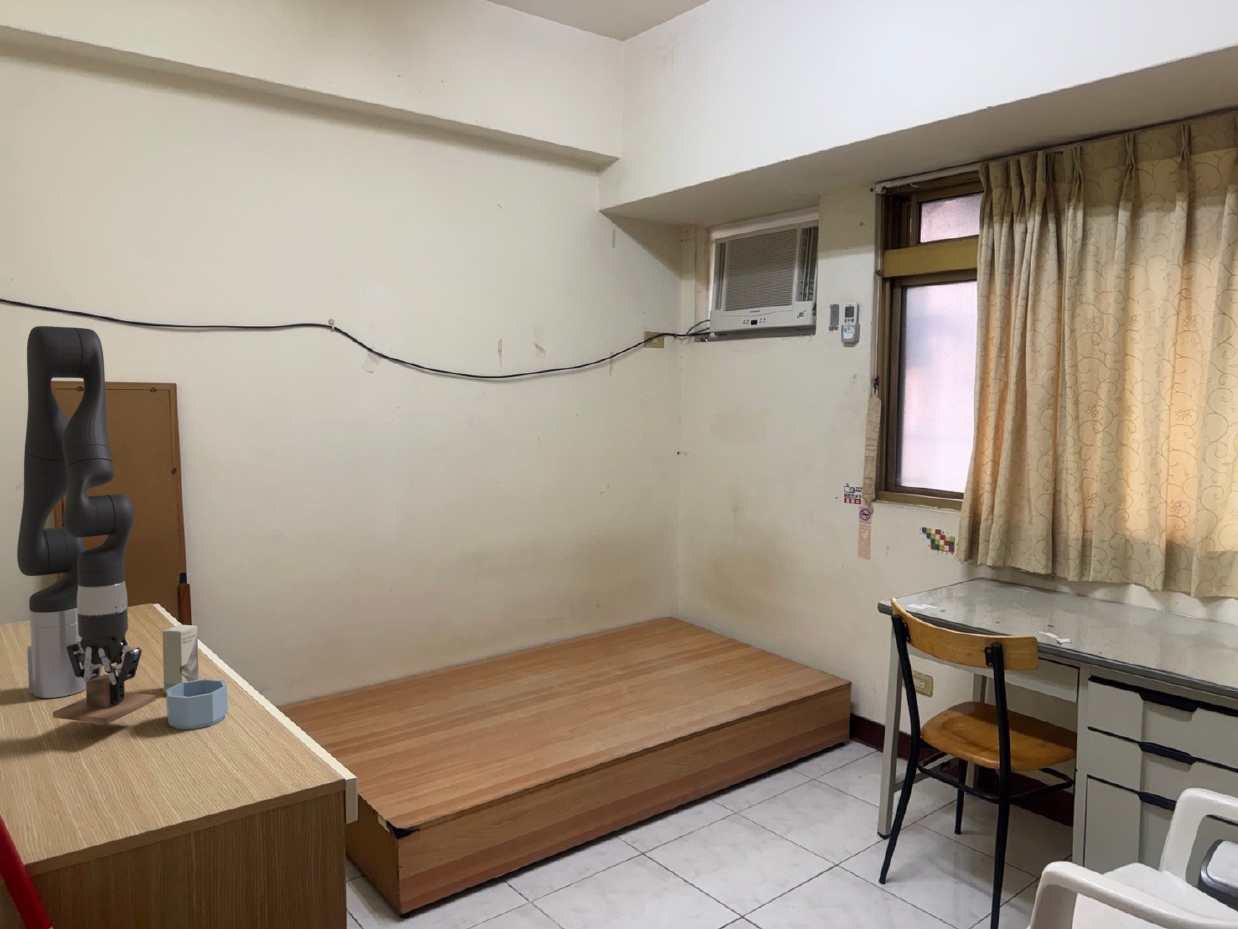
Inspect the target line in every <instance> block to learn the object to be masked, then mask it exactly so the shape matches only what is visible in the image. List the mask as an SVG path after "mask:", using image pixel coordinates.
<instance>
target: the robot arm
mask: <svg viewBox="0 0 1238 929" xmlns="http://www.w3.org/2000/svg"><path fill="white" fill-rule="evenodd" d="M26 342H27V344H26V371H27V372H26V373H27V374H26V376H27V418H26V431H25V432H26V433H25V440H24V454H23V456H24V458H23V500H22V501H23V502H22V509H21V516H20V517H21V518H20V525H19V530H18V531H19V532H18V540H17V552H16V557H17V558H16V559H17V566H18V569H19V570H20V572H21V574H23V575H24V576H27V577H40V576H41V577H42V576H48V575H57V574H62V576H60V578H59V579H58V580H57V581H55V582H54V583H53V584H51V585H49V586H48V587H45V588H43V589H41V590H39V591H36V592H35V593H32V594H31V595H30V597H29V599H28V600H29V601H28V607H29V622H30V645H29V646H28V647H27V649H26V650H27V655H26V656H27V671H28V672H27V673H28V691H29V692H28V693H29V694H32V695H33V696H34V697H36V698H41V699H53V698H61V697H62V698H63V697H66V696H71V695H72V696H73V695H75V694H77V693H80V692H83V691H86V682H87V681H89V680H92V679H94V678H96V677H99V676H101V675H102V668H103V670H104V672H105V674H107V675H108V676H109V680H110V683H111V685H110V703H111V704H113V705H116V704H118V703H120V702H122V701H123V699H124V697H125V692H126V691H125V682H126V681H129V680H131V679H134V678H135V677H136V673H137V670H138V666H139V662H140V661H141V660H140V659H141V657H142V656H141V655H142V653H143V651H142V648H141V647H140V646H139V647H136V648H134V647H132V646H130V645H129V644H128V641H127V639H126V633H127V632H128V629H129V617H128V613H129V612H128V610H129V609H128V593H127V592H128V591H127V587H126V577H125V576H126V575H125V574H126V573H125V572H126V571H125V557H126V550H127V546H128V541H129V538H130V534H131V532H132V529H133V525H134V521H135V513H136V512H135V507H134V504H133V502H132V500H131V499H130V498H129V497H128V496H126V495H125V494H120V493H119V494H118V493H115V494H113V493H112V494H104V495H102V494H100V495H89V496H88V495H87V490H89V489H93V488H96V487H99V486H103V485H106V484H108V483H110V482H112V481H113V479H114V477H115V468H114V463H113V461H114V460H113V457H112V451H111V445H110V441H109V435H108V427H107V402H106V401H107V398H106V395H107V394H106V393H107V392H106V377H105V376H106V375H105V359H104V351H103V345H102V342H101V338H100V337H99V335H98V334H97V332H96V331H95V330H93V329H91V328H85V327H74V326H73V327H72V326H71V327H68V326H50V325H37V326H33V327H32V329H31V330H30V331H29V334H28V337H27V341H26ZM52 379H82V380H83V393H82V398H81V399H80V402H79V403H78V405H77V408H76V409H75V411H74V413H73V414H72V416H71V418H69V417H68V415H67V414H66V413H65V411H64V410H63V409H62V407H61V405H60V404H59V403H58V401H57V399H56V398H55V395H54V394H53V393H54V392H53V388H52ZM65 496H66V498H65V504H64V507H63V508H64V509H63V514H62V524H63V526H59V527H49V528H48V527H45V525H46V522H47V520H48V518H49V516H50V514H51V513H52V512H53V510H54V508H55V507H56V506H57V505H58V504H59V503H60V502H61V501H62V499H63V498H64V497H65ZM98 536H101V537H102V536H107V537H106V538H105V541H104V542H103V543H102V544H100V545H98V546H96V547H92V548H89V549H86V544H85V538H90V537H98ZM113 664H114V665H113Z"/></svg>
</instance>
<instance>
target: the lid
mask: <svg viewBox="0 0 1238 929" xmlns="http://www.w3.org/2000/svg"><path fill="white" fill-rule="evenodd" d="M110 685H111V683H110V680H109V676H108V673H105V674H104V673H103V674H100V676H99V677H96V678H94V679H92V680H89V681H87V682H86V689H85V691H86V692H85V693H86V694H85V695H86V697H84V698H82V699H80V700H77V701H75V702H72V703H71V704H68V705H66V706H64V707H62V708H59V709H57V710H54V711H52V717H53V718H55V719H60V720H61V719H62V720H70V721H77V722H78V721H79V722H87V723H95V724H102V725H103V724H104V725H109V724H112V723H113V722H114V721H117V720H119V719H121V718H123V717H126V716H127V715H130V714H131V713H134V712H136V711H138V710H139V709H142V708H143V707H145V706H148V705H150V704H152V703H153V702H155V701H157V700H156V699H157V697H156V695H154V694H147V693H137V692H127V691H125V697H124V699H123V701H122V702H120V703H118V704H116V705H113V704H111V703H110Z"/></svg>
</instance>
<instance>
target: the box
mask: <svg viewBox="0 0 1238 929" xmlns="http://www.w3.org/2000/svg"><path fill="white" fill-rule="evenodd" d="M198 643H199V642H198V625H189V624H178V625H176V626H172V627H169V628H166V629H164V630H162V656H163V657H162V658H163V659H162V660H163V661H162V662H163V693H166V690H167V689H169V688H171V687H173V686H175V685H177V684H180V683H182V682H188V681H194V680H200V678H199V676H200V675H199V648H198V647H199V644H198Z"/></svg>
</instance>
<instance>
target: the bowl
mask: <svg viewBox="0 0 1238 929" xmlns="http://www.w3.org/2000/svg"><path fill="white" fill-rule="evenodd" d="M165 694H166V695H165V696H166V698H165V699H166V718H167V721H168V725H169V726H170V728H172V729H176V730H181V731H182V730H186V731H187V730H197V729H204V728H206V727H210V726H214V725H216V724H218V723H220V722H222V721H223V720H224V719H225V718H226V715H228V713H229V712H228V707H229V706H228V686H227V684H226V682H225V680H224V679H223V680H222V679H213V678H202V679H200V678H199V680H194V681H188V682H182V683H180V684H177V685H175V686H173V687H171V688H169V689H167V690H166V692H165ZM224 717H225V718H224Z"/></svg>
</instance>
